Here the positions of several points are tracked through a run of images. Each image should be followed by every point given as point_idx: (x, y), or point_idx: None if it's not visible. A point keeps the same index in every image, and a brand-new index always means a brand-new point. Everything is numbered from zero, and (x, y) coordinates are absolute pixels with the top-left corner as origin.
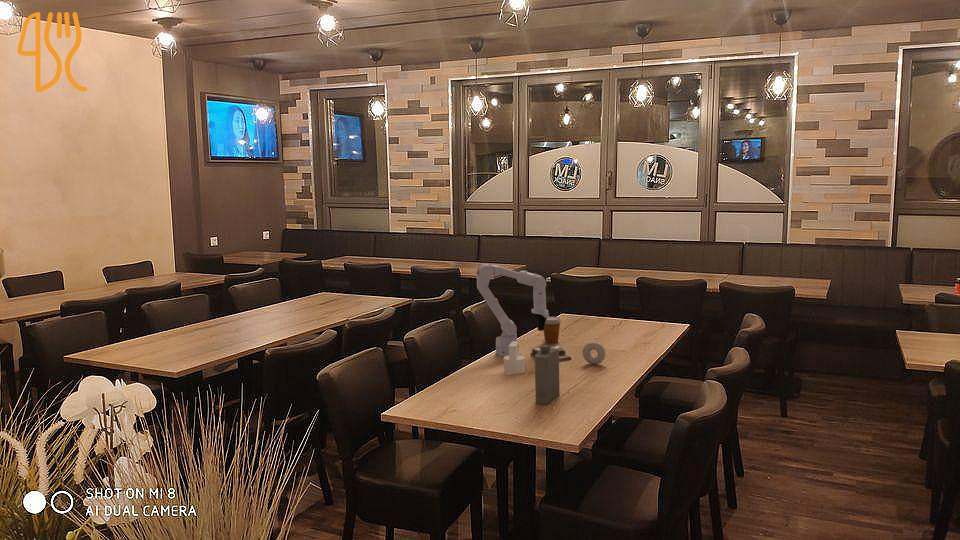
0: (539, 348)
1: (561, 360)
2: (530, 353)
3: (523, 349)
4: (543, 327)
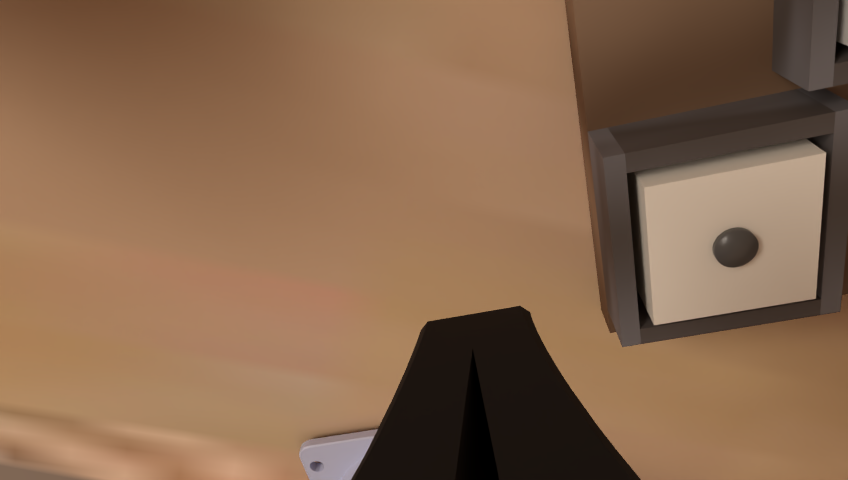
0: (730, 261)
1: None
2: (613, 328)
3: (211, 317)
4: (558, 379)
